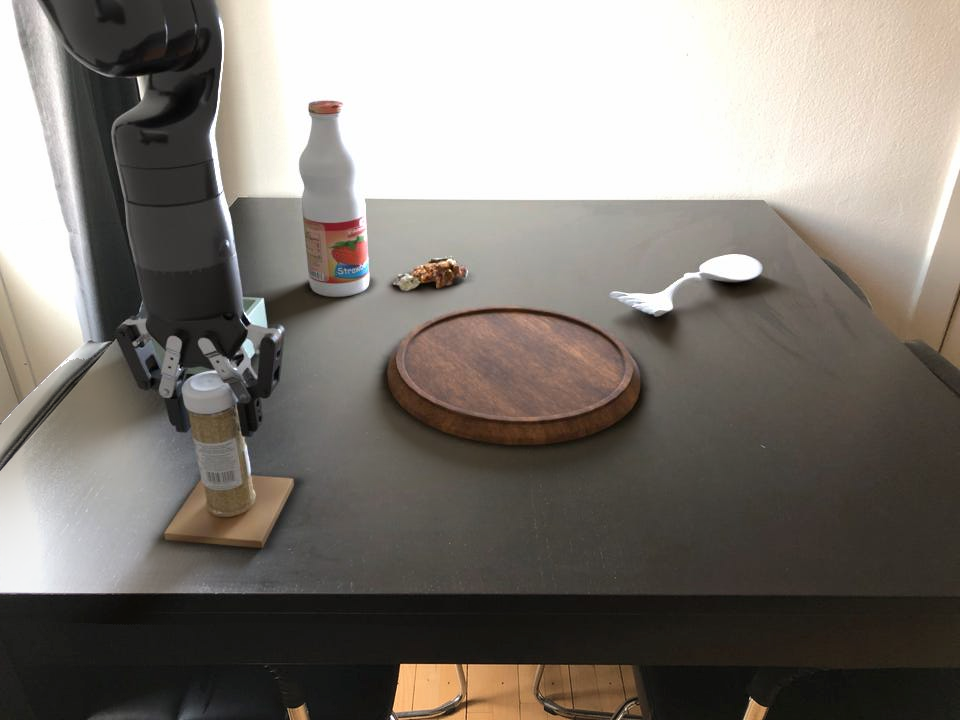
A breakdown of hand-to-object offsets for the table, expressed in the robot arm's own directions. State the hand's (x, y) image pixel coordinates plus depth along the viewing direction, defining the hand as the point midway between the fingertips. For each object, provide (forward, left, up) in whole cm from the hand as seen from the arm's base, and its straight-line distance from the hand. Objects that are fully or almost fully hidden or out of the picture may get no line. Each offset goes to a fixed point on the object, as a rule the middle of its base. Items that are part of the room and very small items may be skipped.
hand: (217, 429), depth 66 cm
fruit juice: (-4, +54, -10) cm, 55 cm away
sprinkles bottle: (0, 0, -9) cm, 9 cm away
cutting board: (+25, +30, -10) cm, 40 cm away
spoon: (+52, +59, -10) cm, 79 cm away
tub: (-15, +30, -10) cm, 35 cm away
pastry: (+10, +58, -10) cm, 60 cm away
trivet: (0, 0, -10) cm, 10 cm away
